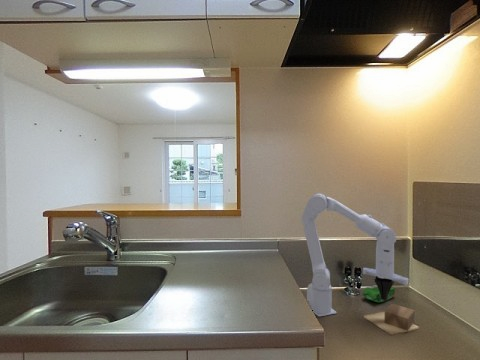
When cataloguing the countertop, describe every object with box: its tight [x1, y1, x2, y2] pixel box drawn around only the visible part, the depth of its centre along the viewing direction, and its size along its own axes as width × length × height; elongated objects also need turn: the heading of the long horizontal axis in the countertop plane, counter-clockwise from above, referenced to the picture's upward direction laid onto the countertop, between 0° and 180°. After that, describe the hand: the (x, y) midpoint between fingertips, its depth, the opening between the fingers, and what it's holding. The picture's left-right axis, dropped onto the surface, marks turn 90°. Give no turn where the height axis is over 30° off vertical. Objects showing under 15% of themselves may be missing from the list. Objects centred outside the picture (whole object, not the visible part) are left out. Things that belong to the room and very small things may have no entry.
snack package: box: [362, 283, 396, 303], centre depth 114 cm, size 7×16×5 cm, turn 121°
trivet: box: [363, 311, 420, 336], centre depth 96 cm, size 12×12×1 cm
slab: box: [384, 303, 415, 332], centre depth 95 cm, size 4×8×7 cm
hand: (384, 299), depth 98 cm, fingers closed
